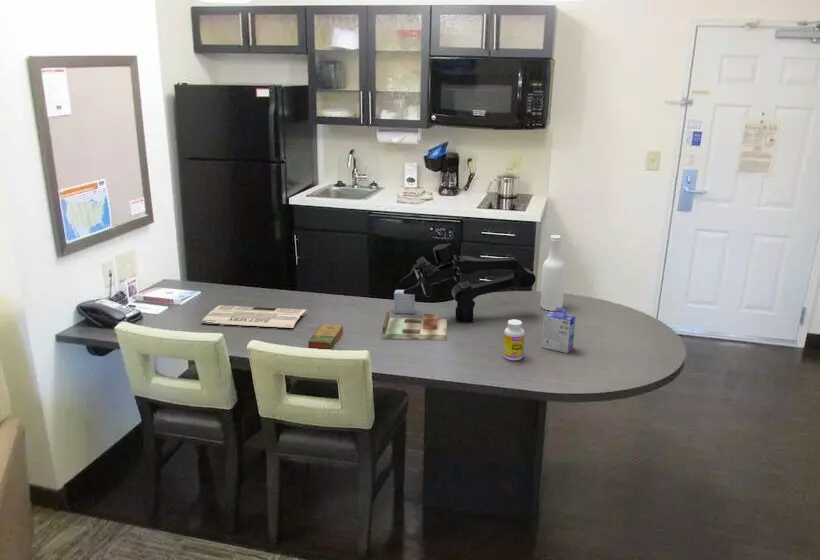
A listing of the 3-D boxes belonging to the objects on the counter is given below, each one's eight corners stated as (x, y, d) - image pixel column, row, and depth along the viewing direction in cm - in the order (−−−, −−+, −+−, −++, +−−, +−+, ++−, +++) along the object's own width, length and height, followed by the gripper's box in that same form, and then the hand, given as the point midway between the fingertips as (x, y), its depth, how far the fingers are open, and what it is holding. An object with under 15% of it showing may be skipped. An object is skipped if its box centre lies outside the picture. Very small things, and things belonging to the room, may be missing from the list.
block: (437, 324, 251) (437, 314, 249) (436, 329, 246) (436, 319, 245) (423, 323, 251) (423, 313, 250) (423, 329, 246) (423, 318, 245)
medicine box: (415, 310, 270) (414, 289, 267) (414, 314, 266) (413, 293, 263) (395, 309, 271) (395, 289, 268) (394, 313, 267) (393, 293, 264)
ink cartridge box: (573, 348, 234) (576, 309, 229) (568, 354, 230) (571, 314, 225) (546, 342, 239) (549, 304, 234) (541, 347, 235) (543, 309, 230)
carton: (343, 335, 248) (343, 324, 246) (331, 353, 233) (330, 342, 231) (321, 333, 249) (321, 323, 248) (308, 351, 234) (307, 340, 233)
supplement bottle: (509, 362, 224) (511, 327, 220) (499, 354, 229) (501, 320, 225) (526, 358, 226) (528, 323, 222) (516, 351, 232) (518, 317, 228)
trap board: (446, 324, 256) (446, 313, 254) (446, 340, 242) (446, 328, 240) (386, 322, 257) (386, 312, 256) (382, 338, 243) (382, 327, 242)
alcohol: (539, 303, 276) (543, 232, 266) (561, 304, 275) (566, 233, 265) (540, 311, 267) (544, 238, 258) (563, 312, 266) (568, 239, 257)
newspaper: (307, 314, 268) (307, 307, 267) (292, 333, 250) (291, 326, 249) (221, 309, 274) (220, 303, 273) (199, 327, 256) (199, 321, 255)
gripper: (429, 246, 257) (391, 259, 257) (440, 264, 241) (399, 278, 240) (437, 271, 262) (399, 284, 262) (448, 290, 245) (408, 304, 245)
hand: (401, 287), depth 252 cm, fingers open, 9 cm apart
